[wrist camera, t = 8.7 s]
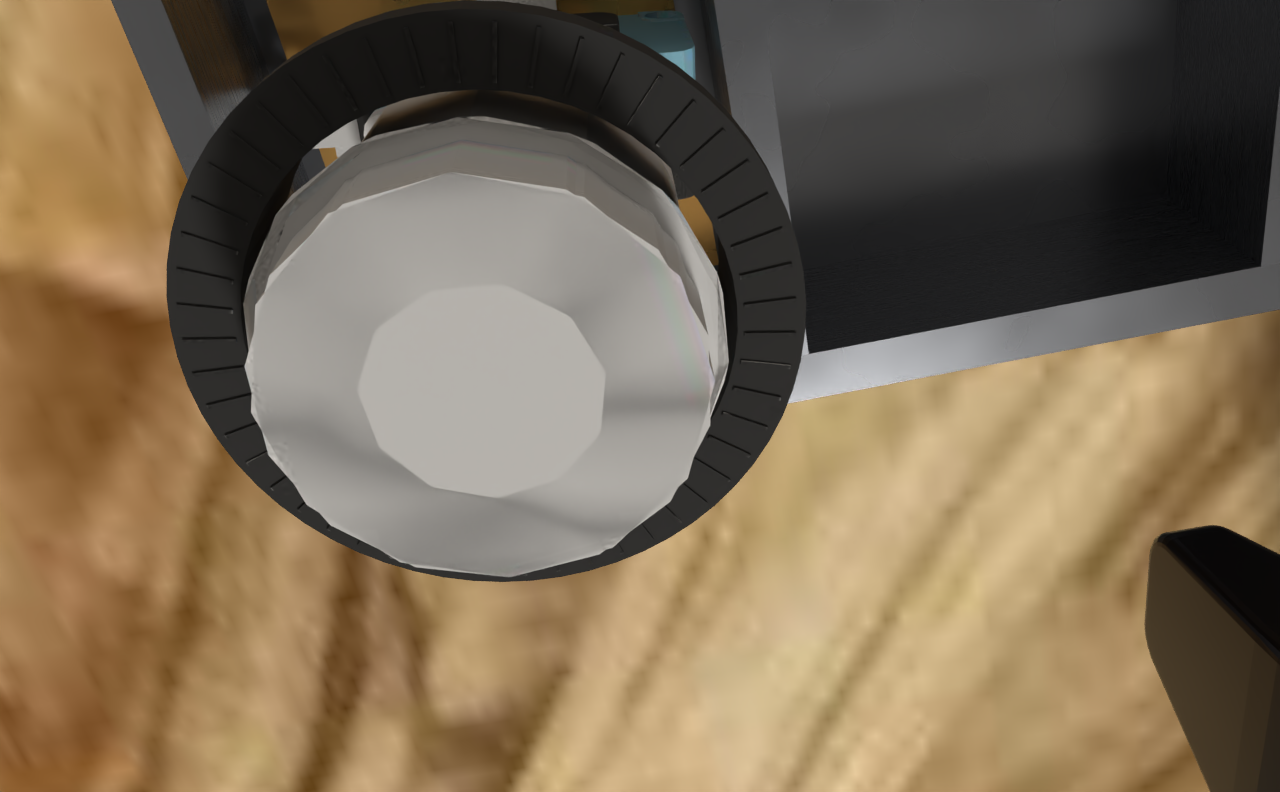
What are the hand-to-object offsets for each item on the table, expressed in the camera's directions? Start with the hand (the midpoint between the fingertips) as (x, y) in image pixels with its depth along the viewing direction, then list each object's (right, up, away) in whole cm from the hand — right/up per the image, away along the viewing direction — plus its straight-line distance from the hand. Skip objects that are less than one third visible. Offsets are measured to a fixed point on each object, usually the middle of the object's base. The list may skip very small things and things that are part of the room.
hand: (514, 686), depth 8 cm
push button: (-1, +7, +9) cm, 12 cm away
